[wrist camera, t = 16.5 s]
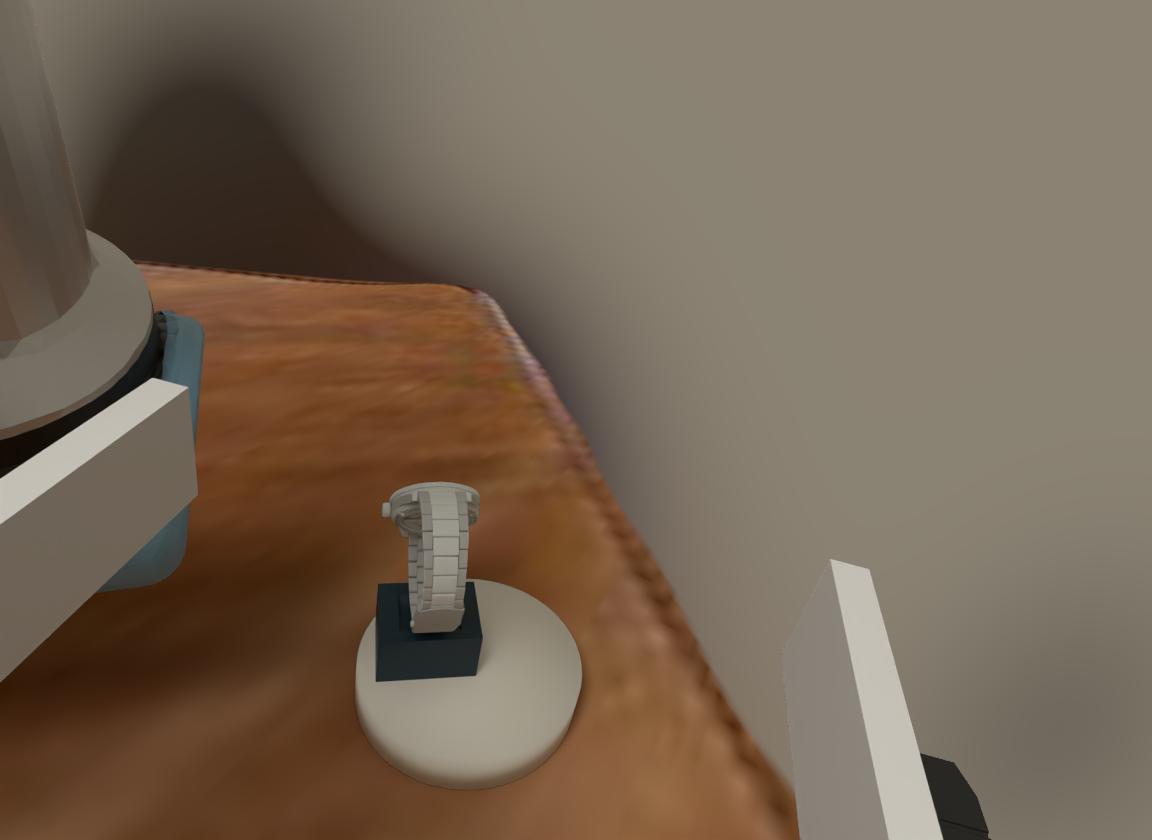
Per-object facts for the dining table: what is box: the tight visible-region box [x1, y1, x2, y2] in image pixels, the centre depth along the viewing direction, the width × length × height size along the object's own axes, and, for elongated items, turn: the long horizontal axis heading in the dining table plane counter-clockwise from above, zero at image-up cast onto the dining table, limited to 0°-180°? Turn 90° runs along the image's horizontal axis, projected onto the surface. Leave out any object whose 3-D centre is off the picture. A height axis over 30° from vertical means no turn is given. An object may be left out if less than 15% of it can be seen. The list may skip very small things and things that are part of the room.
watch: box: [375, 482, 483, 682], centre depth 39 cm, size 6×8×11 cm
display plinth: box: [355, 579, 582, 790], centre depth 43 cm, size 13×13×2 cm
